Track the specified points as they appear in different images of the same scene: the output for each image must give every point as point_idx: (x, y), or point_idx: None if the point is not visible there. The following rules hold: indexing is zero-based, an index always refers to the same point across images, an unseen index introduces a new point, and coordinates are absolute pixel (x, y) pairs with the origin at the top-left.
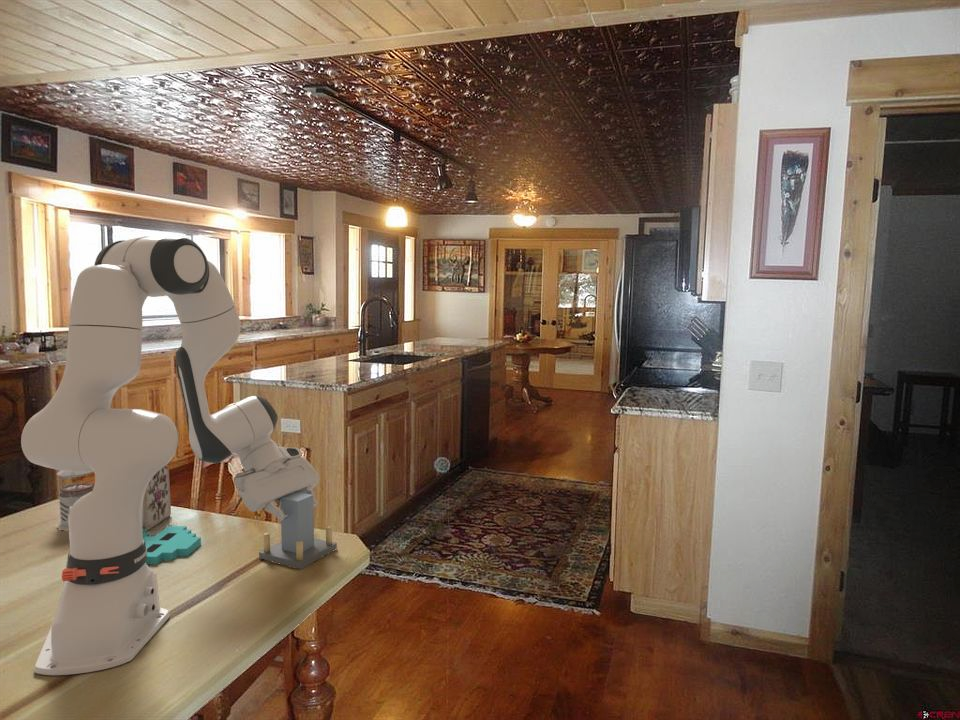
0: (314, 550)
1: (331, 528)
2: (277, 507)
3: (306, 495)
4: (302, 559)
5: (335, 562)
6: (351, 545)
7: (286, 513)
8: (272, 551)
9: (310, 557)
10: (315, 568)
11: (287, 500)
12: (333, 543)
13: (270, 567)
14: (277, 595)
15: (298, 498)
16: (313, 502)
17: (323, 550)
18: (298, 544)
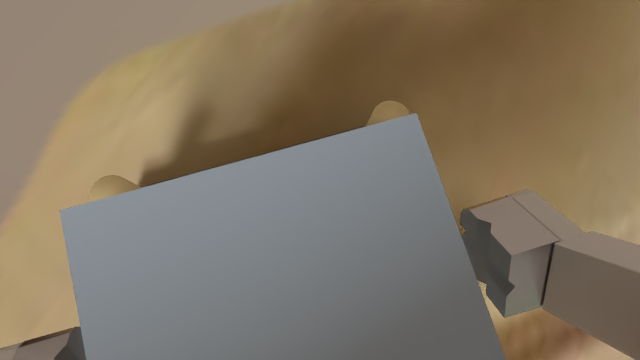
0: None
1: (106, 178)
2: (633, 264)
3: (150, 271)
4: None
5: (231, 84)
6: (48, 189)
7: (488, 218)
8: None
9: (320, 138)
10: (328, 95)
11: (484, 313)
12: None
13: None
14: (551, 6)
15: (333, 227)
16: (49, 345)
17: (225, 164)
18: (403, 110)
